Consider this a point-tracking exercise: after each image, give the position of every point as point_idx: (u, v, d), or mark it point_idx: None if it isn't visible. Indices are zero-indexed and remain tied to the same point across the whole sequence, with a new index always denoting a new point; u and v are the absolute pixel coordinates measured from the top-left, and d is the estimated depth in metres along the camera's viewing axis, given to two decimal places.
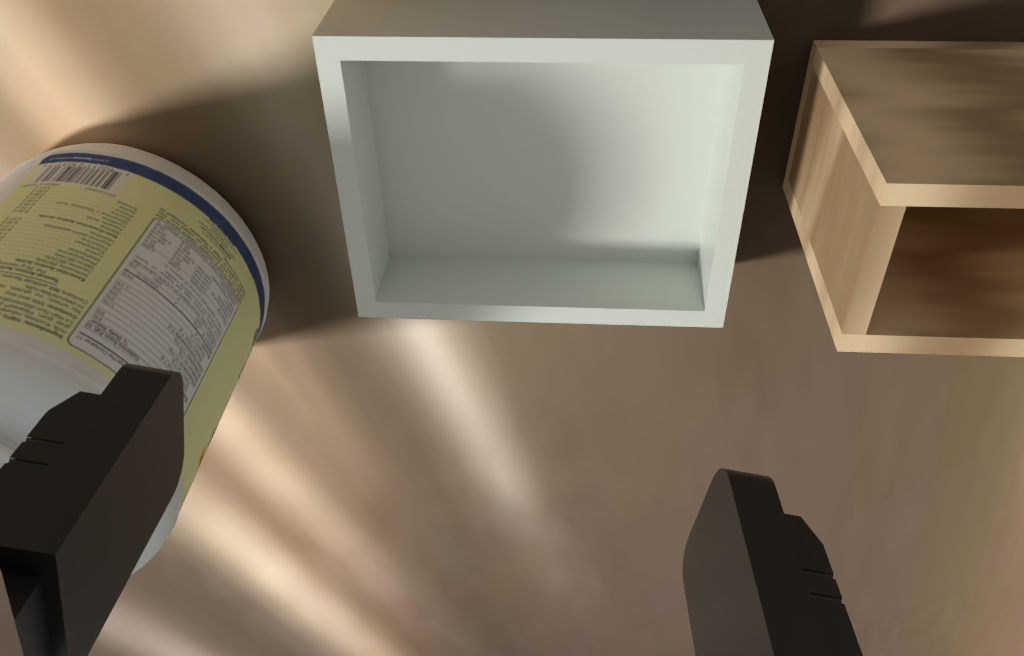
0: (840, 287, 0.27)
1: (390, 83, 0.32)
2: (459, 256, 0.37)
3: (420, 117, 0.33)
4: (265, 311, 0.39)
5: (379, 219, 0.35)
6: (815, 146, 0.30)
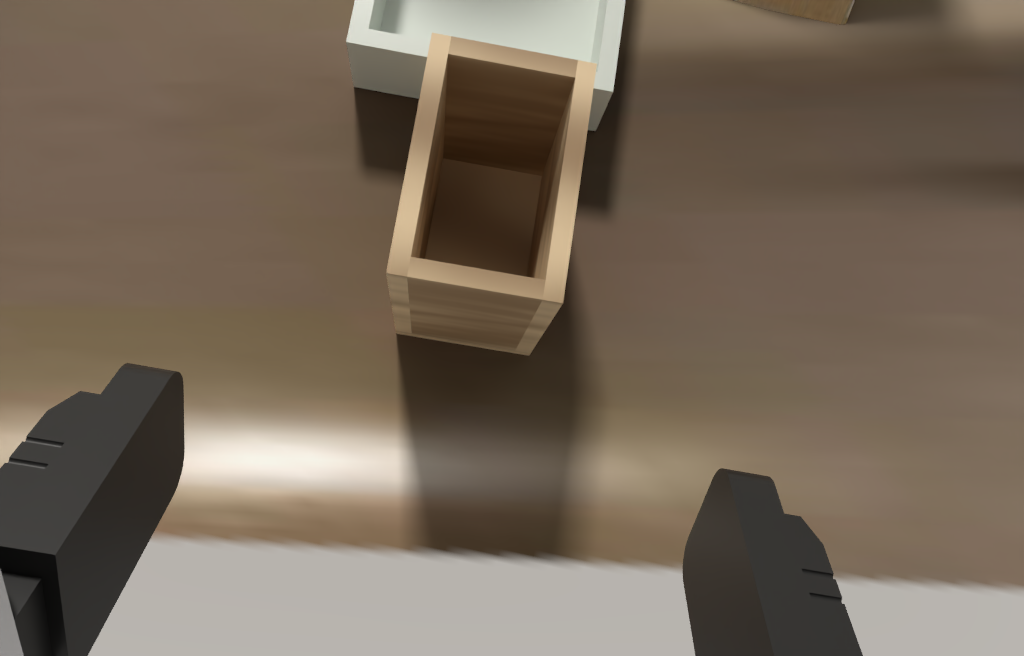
0: None
1: None
2: None
3: None
4: None
5: None
6: None
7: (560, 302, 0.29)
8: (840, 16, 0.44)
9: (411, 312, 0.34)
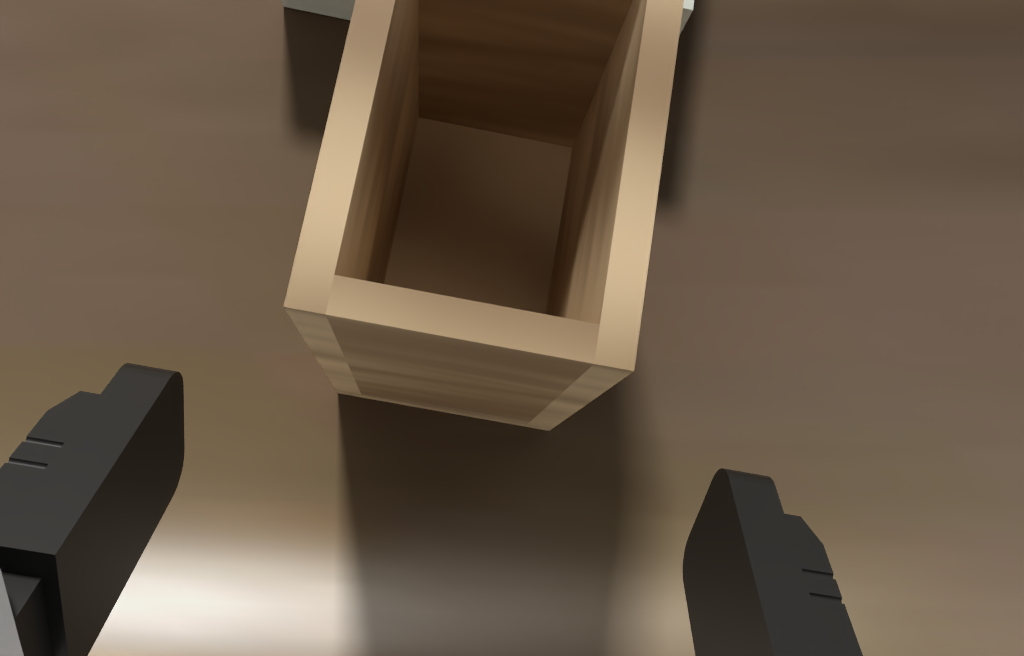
0: None
1: None
2: None
3: None
4: None
5: None
6: None
7: (628, 369, 0.15)
8: None
9: (352, 368, 0.20)
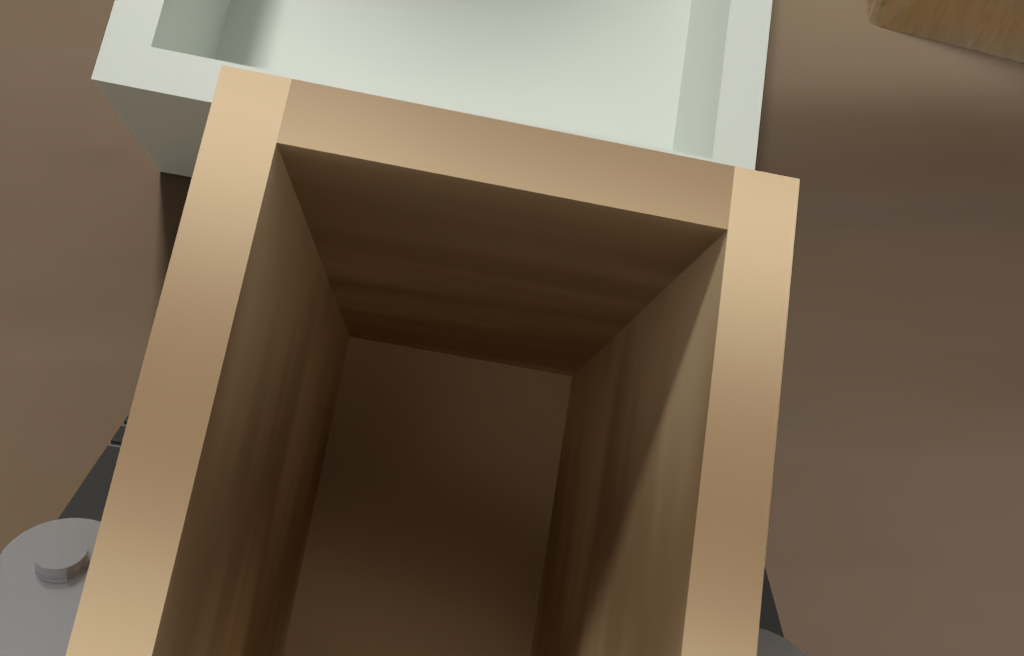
0: None
1: None
2: None
3: None
4: None
5: None
6: None
7: None
8: None
9: None
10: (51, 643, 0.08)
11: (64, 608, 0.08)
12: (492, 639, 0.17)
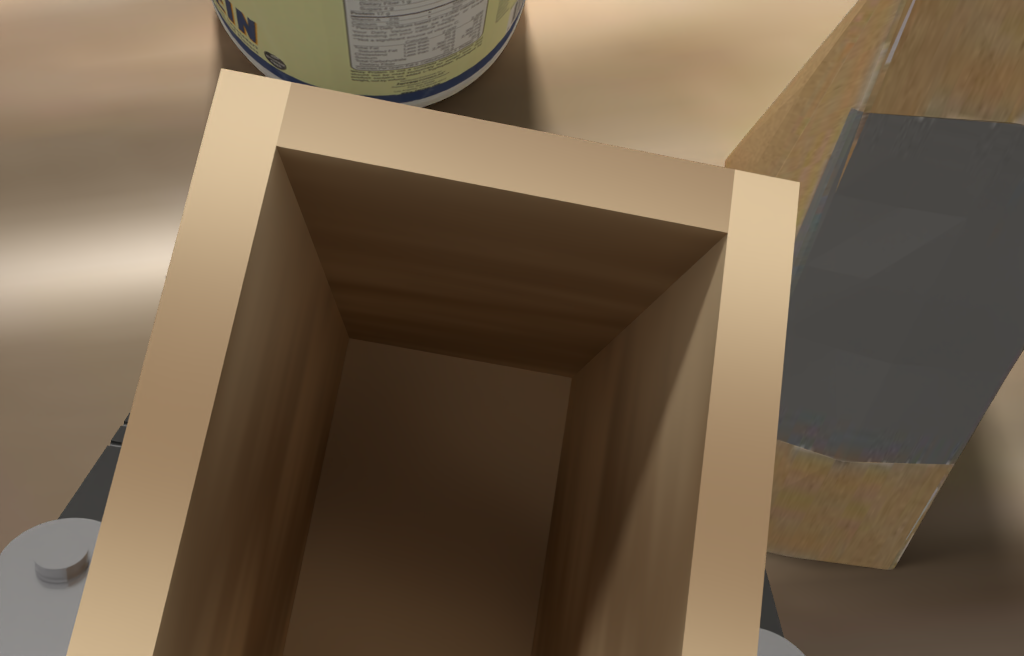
0: None
1: None
2: None
3: None
4: None
5: None
6: None
7: None
8: (888, 562, 0.32)
9: None
10: (51, 643, 0.08)
11: (65, 608, 0.08)
12: (492, 641, 0.17)
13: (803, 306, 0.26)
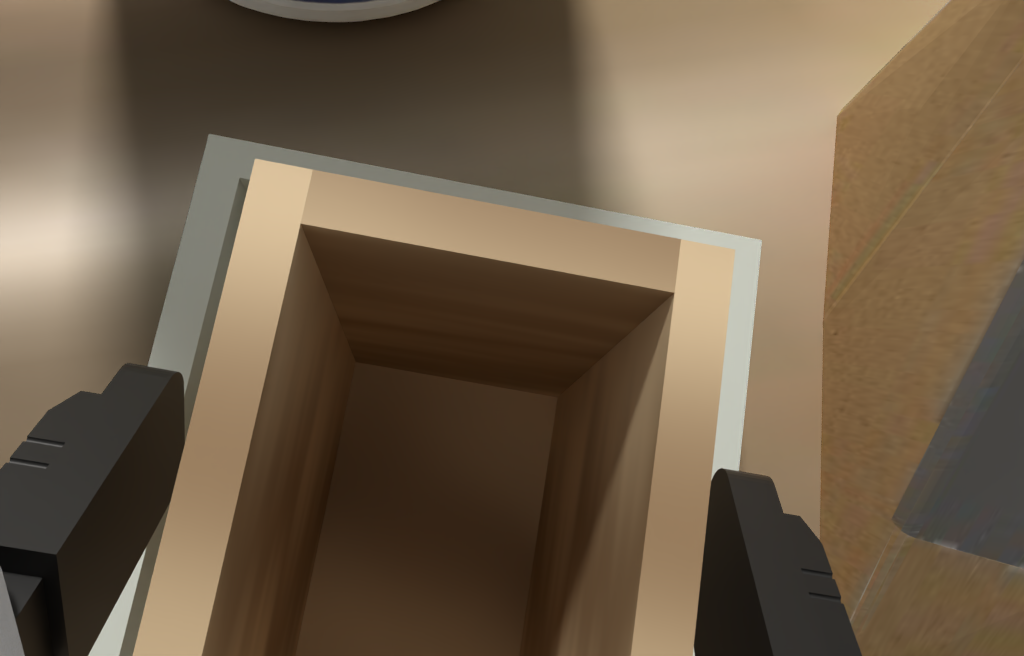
0: None
1: None
2: None
3: None
4: None
5: None
6: None
7: None
8: None
9: None
10: None
11: None
12: (485, 636, 0.18)
13: None
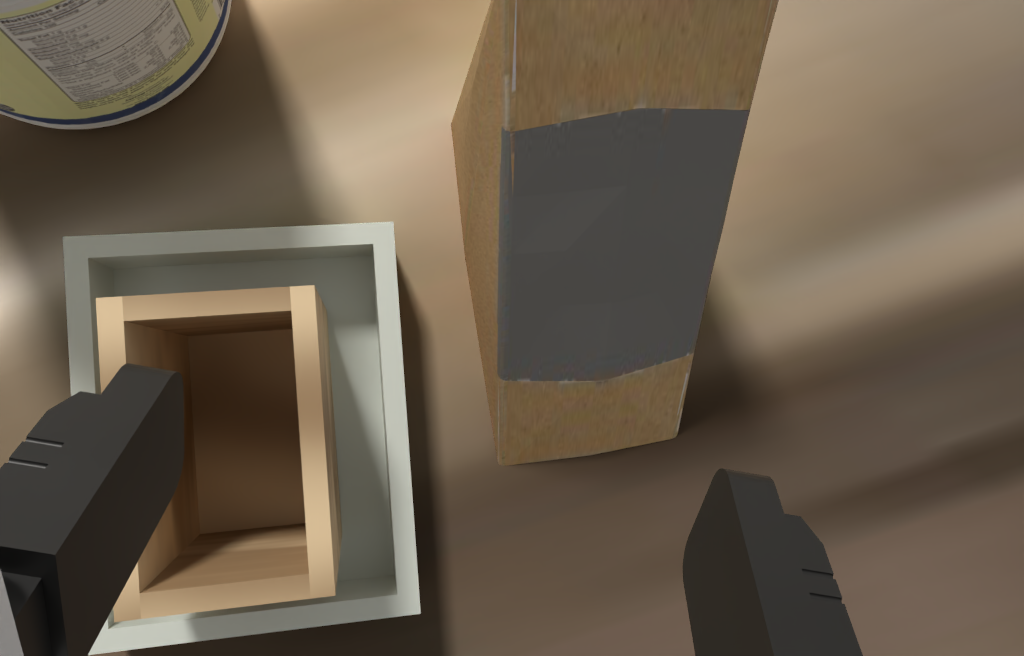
0: None
1: (318, 279, 0.35)
2: None
3: None
4: (27, 120, 0.33)
5: (173, 262, 0.34)
6: None
7: (332, 594, 0.25)
8: (669, 434, 0.38)
9: None
10: None
11: None
12: (298, 464, 0.34)
13: (523, 283, 0.30)
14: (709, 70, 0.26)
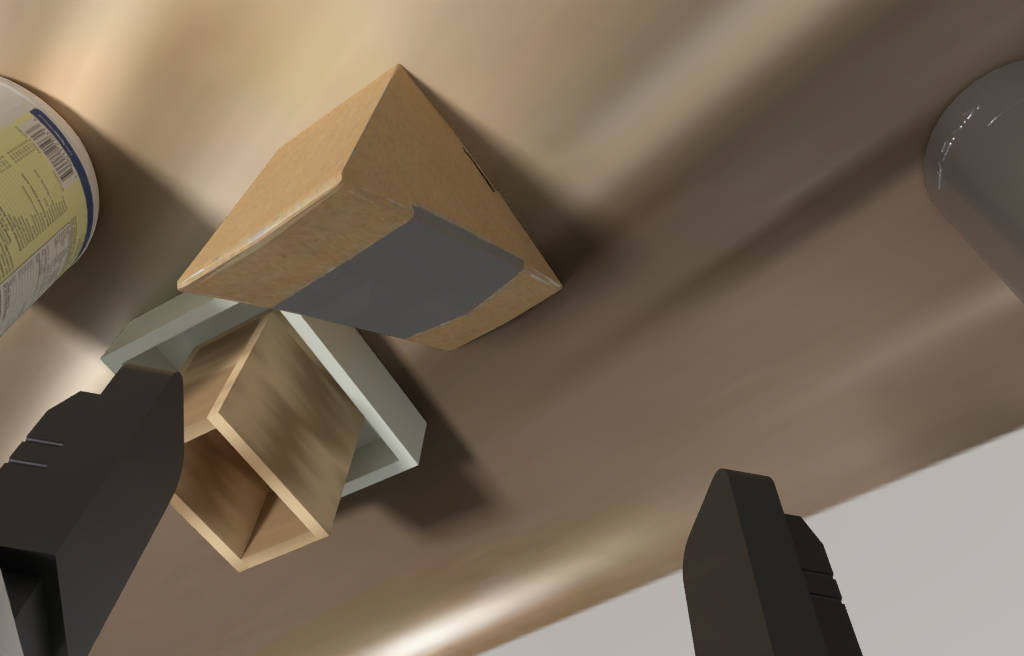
0: None
1: None
2: (178, 370, 0.52)
3: (250, 313, 0.50)
4: None
5: None
6: (222, 353, 0.48)
7: (327, 534, 0.45)
8: (554, 290, 0.49)
9: None
10: None
11: None
12: None
13: (361, 322, 0.43)
14: (358, 233, 0.34)
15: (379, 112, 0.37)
